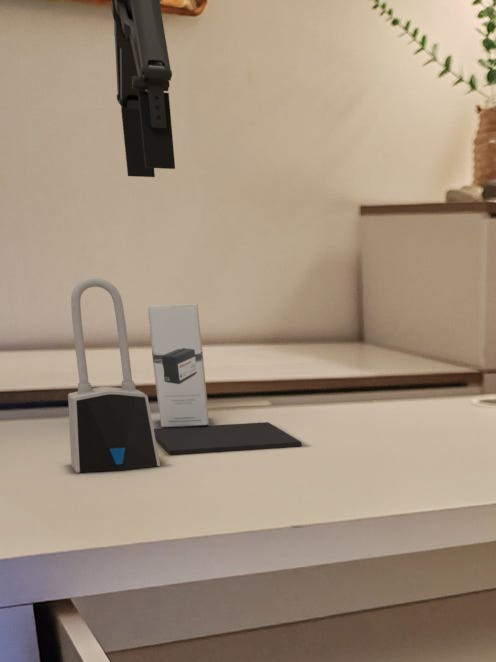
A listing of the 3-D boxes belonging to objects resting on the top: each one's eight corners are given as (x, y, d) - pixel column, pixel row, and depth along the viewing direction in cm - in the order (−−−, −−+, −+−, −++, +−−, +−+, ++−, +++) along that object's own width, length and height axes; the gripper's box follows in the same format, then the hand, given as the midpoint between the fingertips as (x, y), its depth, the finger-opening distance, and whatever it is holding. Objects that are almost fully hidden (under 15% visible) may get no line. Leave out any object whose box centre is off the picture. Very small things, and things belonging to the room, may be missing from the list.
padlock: (151, 458, 90) (132, 276, 85) (161, 466, 87) (142, 278, 81) (70, 464, 87) (45, 277, 82) (77, 473, 84) (52, 278, 78)
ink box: (159, 420, 111) (147, 305, 107) (207, 418, 112) (196, 304, 108) (159, 428, 103) (146, 304, 99) (210, 426, 104) (198, 303, 100)
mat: (149, 432, 103) (149, 428, 103) (268, 425, 108) (268, 422, 107) (170, 454, 92) (169, 450, 92) (301, 446, 96) (301, 441, 96)
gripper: (190, -106, 88) (210, 165, 96) (150, -37, 110) (169, 180, 117) (98, -119, 85) (126, 162, 93) (75, -46, 107) (99, 178, 114)
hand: (150, 173), depth 105 cm, fingers open, 13 cm apart
